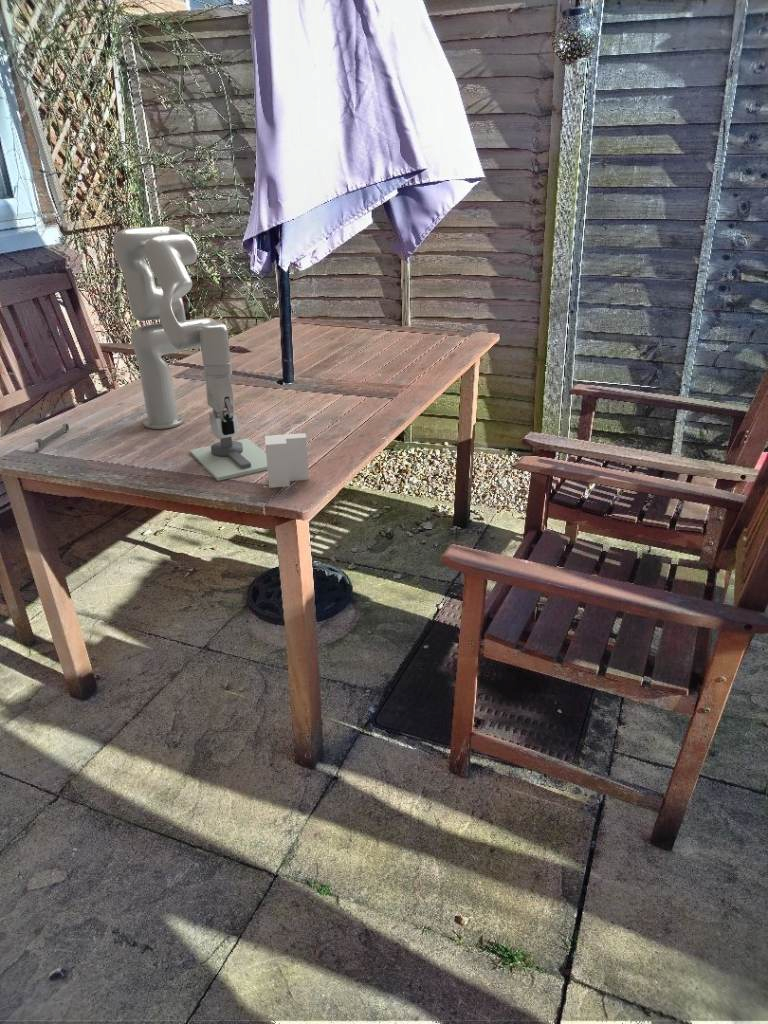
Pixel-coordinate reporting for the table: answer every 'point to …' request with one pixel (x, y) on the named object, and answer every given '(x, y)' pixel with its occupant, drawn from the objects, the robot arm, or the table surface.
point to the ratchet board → (231, 458)
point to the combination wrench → (51, 437)
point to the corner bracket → (286, 459)
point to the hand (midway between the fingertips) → (224, 430)
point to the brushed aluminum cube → (217, 425)
